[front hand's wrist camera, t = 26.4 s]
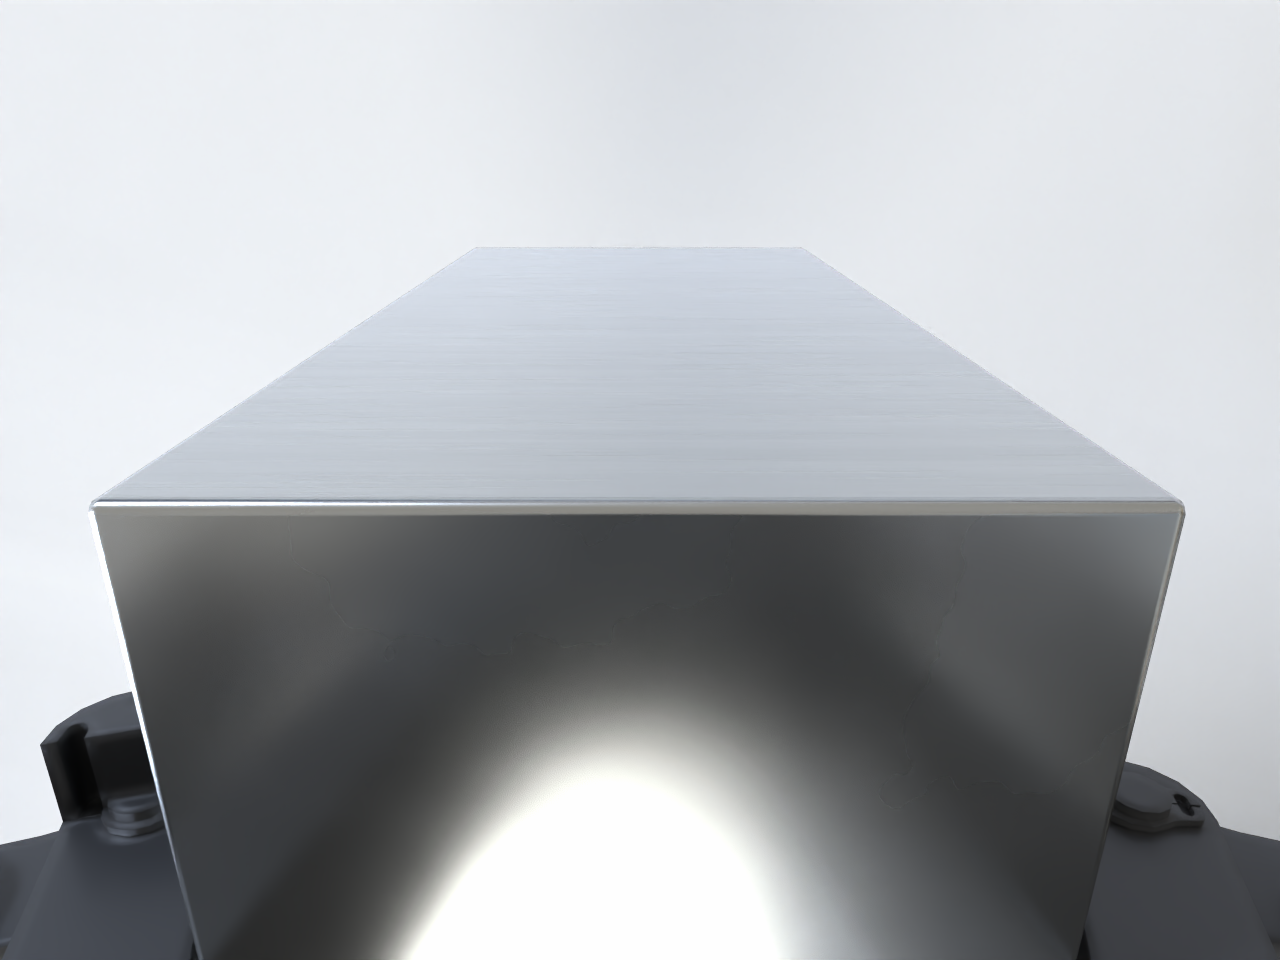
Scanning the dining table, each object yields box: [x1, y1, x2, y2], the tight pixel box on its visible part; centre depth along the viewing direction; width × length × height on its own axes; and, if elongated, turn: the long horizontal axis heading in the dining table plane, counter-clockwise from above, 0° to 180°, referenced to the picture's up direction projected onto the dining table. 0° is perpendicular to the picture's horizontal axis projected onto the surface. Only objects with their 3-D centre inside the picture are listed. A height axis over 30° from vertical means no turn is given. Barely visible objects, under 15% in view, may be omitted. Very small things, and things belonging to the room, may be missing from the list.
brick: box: [89, 248, 1185, 960], centre depth 11 cm, size 9×6×11 cm, turn 0°
